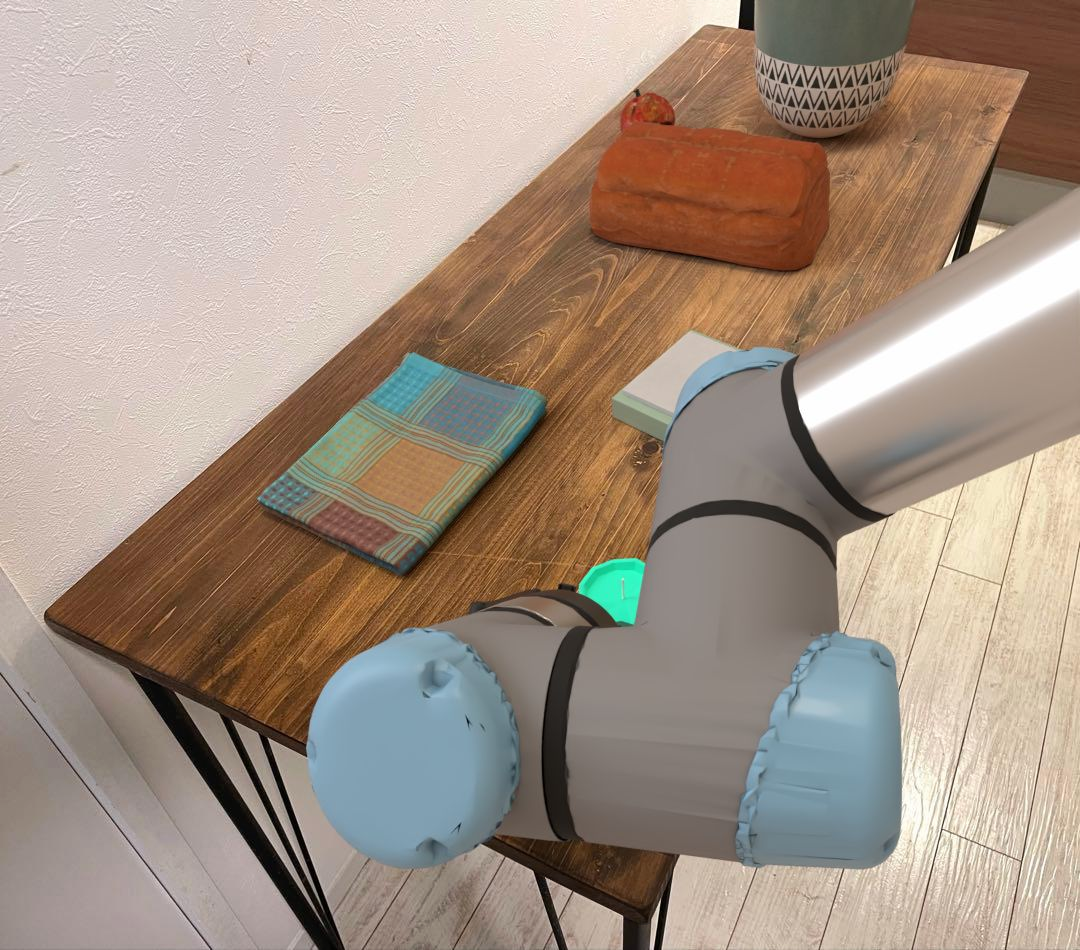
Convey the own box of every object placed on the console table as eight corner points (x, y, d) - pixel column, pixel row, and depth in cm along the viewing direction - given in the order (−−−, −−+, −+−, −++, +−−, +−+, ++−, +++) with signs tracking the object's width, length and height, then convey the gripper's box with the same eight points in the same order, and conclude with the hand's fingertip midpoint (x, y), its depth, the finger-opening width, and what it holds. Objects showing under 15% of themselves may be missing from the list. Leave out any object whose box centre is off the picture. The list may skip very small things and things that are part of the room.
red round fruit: (680, 163, 126) (668, 97, 127) (681, 138, 119) (669, 67, 120) (627, 174, 127) (615, 108, 128) (625, 149, 120) (613, 79, 121)
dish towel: (555, 412, 88) (553, 392, 86) (407, 582, 75) (401, 562, 73) (414, 364, 95) (410, 345, 94) (256, 511, 82) (248, 491, 80)
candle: (599, 640, 69) (592, 535, 60) (677, 660, 67) (681, 554, 59) (573, 707, 65) (562, 605, 57) (655, 730, 63) (656, 628, 55)
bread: (802, 283, 100) (814, 193, 92) (578, 243, 109) (573, 159, 102) (836, 213, 109) (849, 127, 102) (628, 182, 119) (626, 102, 111)
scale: (805, 395, 87) (809, 370, 84) (729, 473, 80) (732, 449, 78) (690, 348, 93) (691, 324, 91) (612, 417, 87) (611, 392, 85)
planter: (890, 166, 116) (925, -17, 101) (733, 157, 121) (744, -18, 106) (897, 101, 129) (930, -70, 114) (755, 95, 134) (768, -69, 119)
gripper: (360, 700, 47) (514, 634, 69) (708, 807, 41) (755, 698, 63) (386, 556, 47) (533, 537, 69) (741, 645, 41) (776, 592, 63)
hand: (639, 614), depth 66 cm, fingers closed on candle, 5 cm apart
